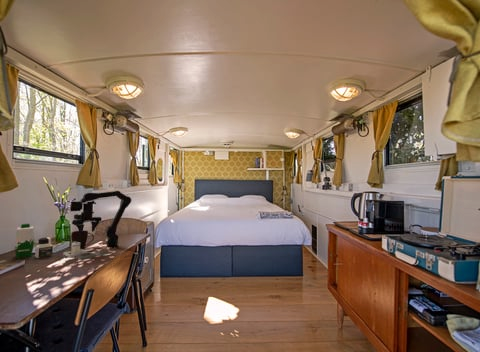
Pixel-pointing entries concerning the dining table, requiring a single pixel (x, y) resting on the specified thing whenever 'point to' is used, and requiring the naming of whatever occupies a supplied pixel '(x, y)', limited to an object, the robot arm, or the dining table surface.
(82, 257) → the filter head
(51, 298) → the dining table surface
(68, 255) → the tray
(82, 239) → the cup
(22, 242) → the milk carton
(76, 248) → the cartridge
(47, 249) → the medicine bottle
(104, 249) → the plunger
